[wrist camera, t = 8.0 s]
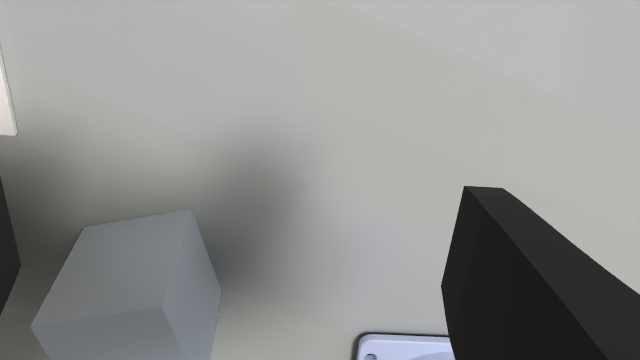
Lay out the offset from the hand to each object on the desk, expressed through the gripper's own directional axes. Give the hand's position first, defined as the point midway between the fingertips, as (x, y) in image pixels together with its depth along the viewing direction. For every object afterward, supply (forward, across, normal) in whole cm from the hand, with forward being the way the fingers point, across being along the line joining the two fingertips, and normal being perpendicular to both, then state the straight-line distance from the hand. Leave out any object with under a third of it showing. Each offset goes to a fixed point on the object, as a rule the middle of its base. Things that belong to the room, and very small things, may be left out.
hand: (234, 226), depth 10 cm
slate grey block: (+10, +4, +9) cm, 14 cm away
